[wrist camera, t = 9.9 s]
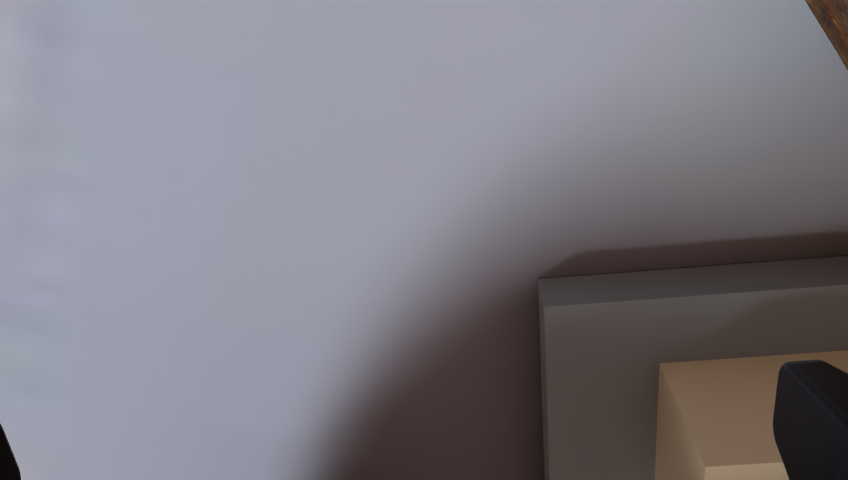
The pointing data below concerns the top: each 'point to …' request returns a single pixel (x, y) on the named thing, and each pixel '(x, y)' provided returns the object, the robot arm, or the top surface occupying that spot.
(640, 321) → the foundation
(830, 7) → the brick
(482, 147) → the top surface
